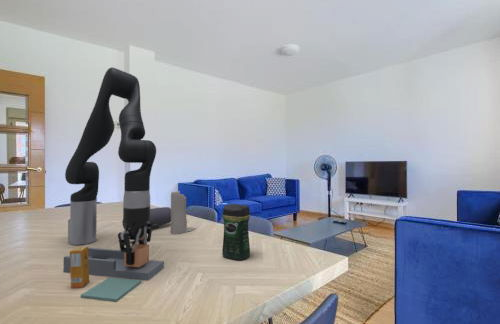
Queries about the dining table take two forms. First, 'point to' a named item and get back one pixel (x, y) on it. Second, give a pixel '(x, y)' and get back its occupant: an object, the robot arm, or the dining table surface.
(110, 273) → the channel
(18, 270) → the dining table surface
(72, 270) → the supplement box
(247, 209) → the coffee jar
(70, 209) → the robot arm
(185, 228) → the candle
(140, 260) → the block
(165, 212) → the bluetooth speaker
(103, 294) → the pad
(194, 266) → the dining table surface
